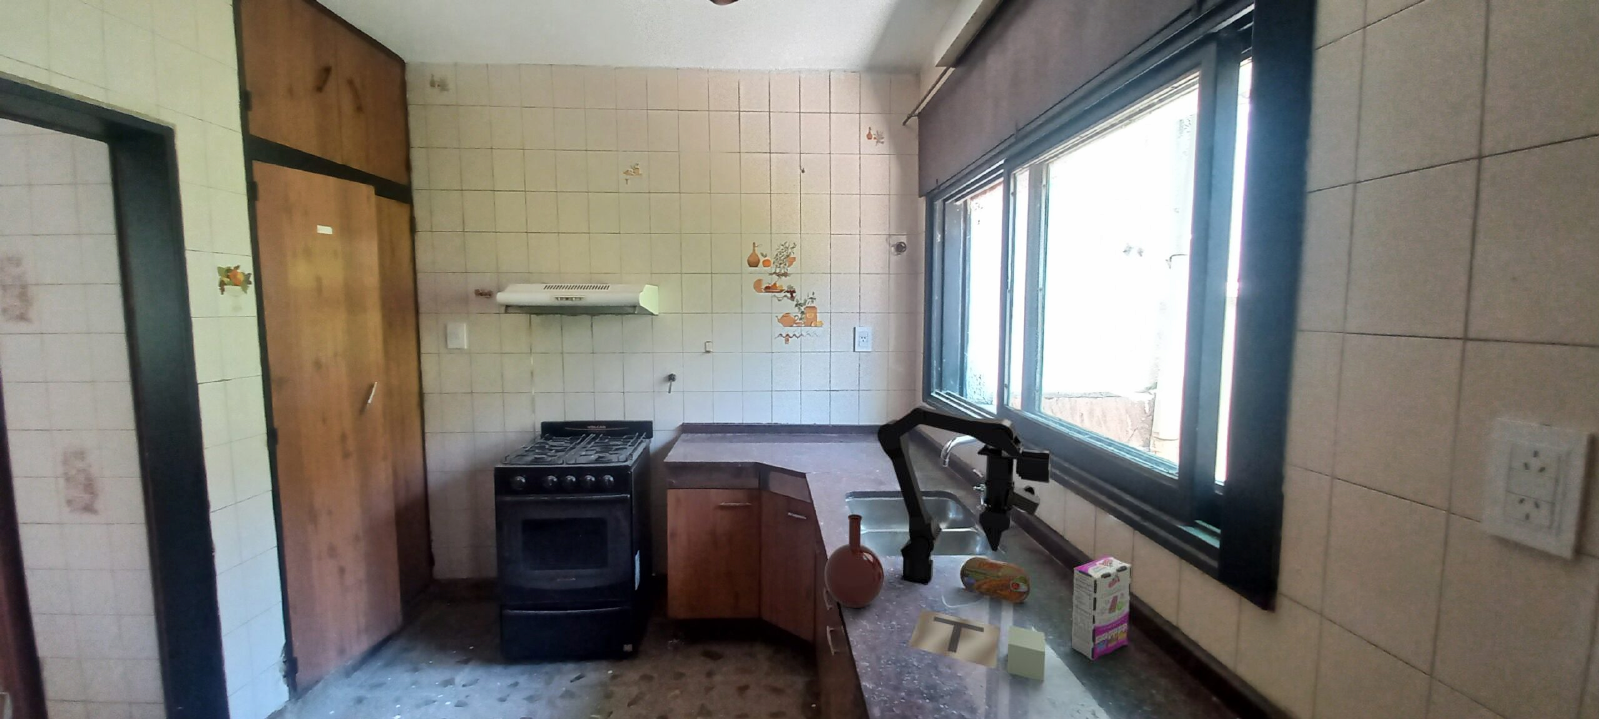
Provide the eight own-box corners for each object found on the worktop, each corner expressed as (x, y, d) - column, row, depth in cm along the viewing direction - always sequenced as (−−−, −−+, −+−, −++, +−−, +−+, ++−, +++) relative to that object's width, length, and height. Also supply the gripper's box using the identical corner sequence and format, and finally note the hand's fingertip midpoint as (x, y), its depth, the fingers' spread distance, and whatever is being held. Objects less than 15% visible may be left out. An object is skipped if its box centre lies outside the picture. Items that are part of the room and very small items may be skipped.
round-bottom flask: (845, 626, 110) (846, 533, 108) (813, 596, 121) (814, 512, 119) (895, 610, 116) (897, 522, 114) (861, 583, 127) (862, 502, 126)
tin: (959, 591, 124) (960, 556, 123) (961, 585, 127) (962, 551, 126) (1028, 608, 117) (1030, 571, 116) (1030, 601, 120) (1031, 565, 119)
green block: (1007, 674, 96) (1008, 643, 95) (1008, 655, 101) (1009, 625, 101) (1043, 684, 93) (1045, 651, 93) (1042, 663, 99) (1044, 632, 98)
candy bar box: (1103, 631, 109) (1108, 554, 107) (1128, 645, 104) (1133, 565, 103) (1068, 647, 103) (1072, 566, 102) (1092, 662, 99) (1097, 578, 97)
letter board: (908, 648, 103) (908, 645, 103) (921, 610, 116) (922, 609, 116) (995, 670, 96) (995, 668, 96) (1000, 628, 109) (1000, 626, 109)
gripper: (1037, 494, 107) (1034, 568, 108) (1039, 469, 124) (1035, 533, 125) (980, 486, 112) (977, 557, 113) (988, 463, 128) (986, 525, 130)
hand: (996, 542), depth 120 cm, fingers open, 9 cm apart
